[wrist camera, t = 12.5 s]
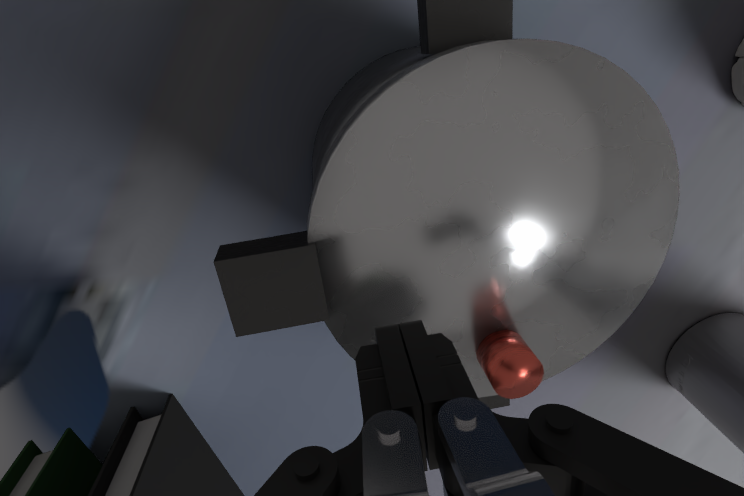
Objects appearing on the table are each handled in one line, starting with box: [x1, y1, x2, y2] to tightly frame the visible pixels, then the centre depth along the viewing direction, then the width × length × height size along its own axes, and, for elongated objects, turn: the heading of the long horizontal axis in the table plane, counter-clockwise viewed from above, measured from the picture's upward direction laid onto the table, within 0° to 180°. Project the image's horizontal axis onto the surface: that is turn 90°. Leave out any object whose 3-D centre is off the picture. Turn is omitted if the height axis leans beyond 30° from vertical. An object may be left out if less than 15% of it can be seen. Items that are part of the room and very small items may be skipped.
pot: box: [312, 0, 513, 409], centre depth 27 cm, size 17×25×12 cm
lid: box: [214, 39, 679, 399], centre depth 20 cm, size 20×17×4 cm
